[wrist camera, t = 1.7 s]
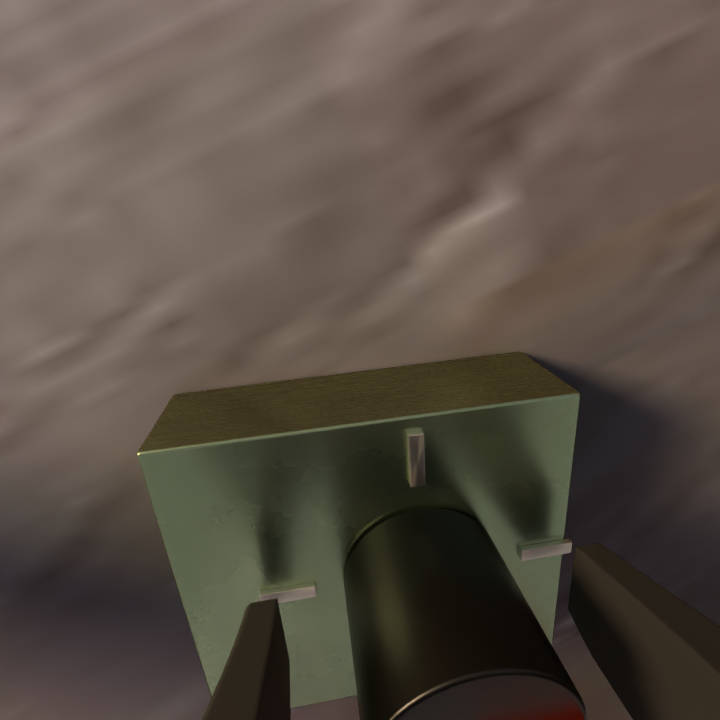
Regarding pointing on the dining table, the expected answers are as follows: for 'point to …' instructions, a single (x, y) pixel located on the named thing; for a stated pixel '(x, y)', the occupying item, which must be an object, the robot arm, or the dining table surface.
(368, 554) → the oven knob
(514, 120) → the dining table surface
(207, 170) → the dining table surface
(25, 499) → the dining table surface
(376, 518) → the panel
